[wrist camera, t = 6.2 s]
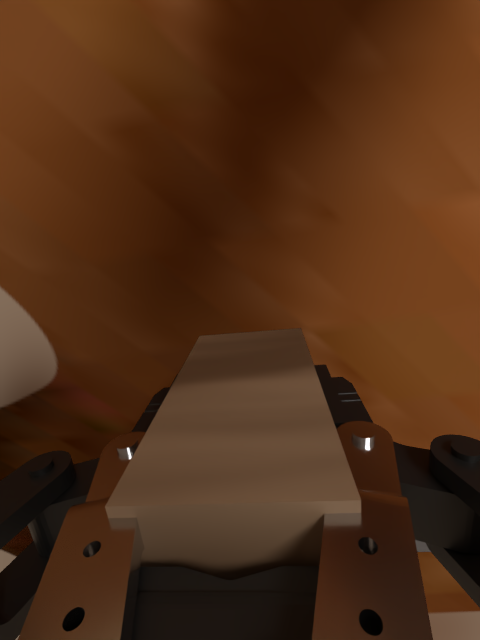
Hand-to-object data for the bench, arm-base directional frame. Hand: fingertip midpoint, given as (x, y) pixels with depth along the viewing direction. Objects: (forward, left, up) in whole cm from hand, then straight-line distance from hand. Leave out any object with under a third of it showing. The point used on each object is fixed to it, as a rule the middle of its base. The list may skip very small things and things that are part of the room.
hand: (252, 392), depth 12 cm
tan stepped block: (+4, 0, -1) cm, 4 cm away
